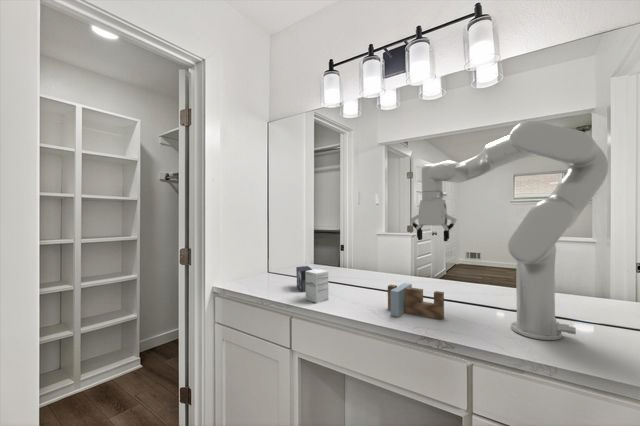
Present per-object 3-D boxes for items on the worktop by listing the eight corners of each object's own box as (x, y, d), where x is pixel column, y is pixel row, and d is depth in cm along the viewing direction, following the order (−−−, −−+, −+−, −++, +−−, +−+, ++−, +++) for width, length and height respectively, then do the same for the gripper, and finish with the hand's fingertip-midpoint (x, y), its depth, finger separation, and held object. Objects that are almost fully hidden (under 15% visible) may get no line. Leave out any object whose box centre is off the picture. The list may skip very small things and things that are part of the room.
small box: (295, 287, 149) (295, 266, 149) (308, 286, 151) (307, 265, 151) (300, 292, 139) (300, 270, 139) (314, 291, 141) (313, 269, 141)
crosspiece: (411, 306, 116) (411, 283, 116) (398, 316, 105) (398, 291, 105) (404, 305, 118) (404, 282, 118) (390, 315, 107) (390, 290, 107)
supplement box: (305, 299, 127) (304, 270, 127) (317, 296, 132) (317, 268, 132) (316, 303, 121) (315, 273, 121) (329, 300, 126) (328, 270, 126)
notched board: (444, 317, 104) (443, 292, 104) (442, 319, 102) (441, 293, 102) (390, 307, 116) (390, 284, 115) (387, 309, 113) (387, 285, 113)
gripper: (458, 195, 112) (458, 240, 112) (413, 197, 122) (413, 238, 122) (453, 195, 106) (454, 242, 106) (406, 197, 116) (407, 240, 116)
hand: (432, 240), depth 114 cm, fingers open, 9 cm apart
